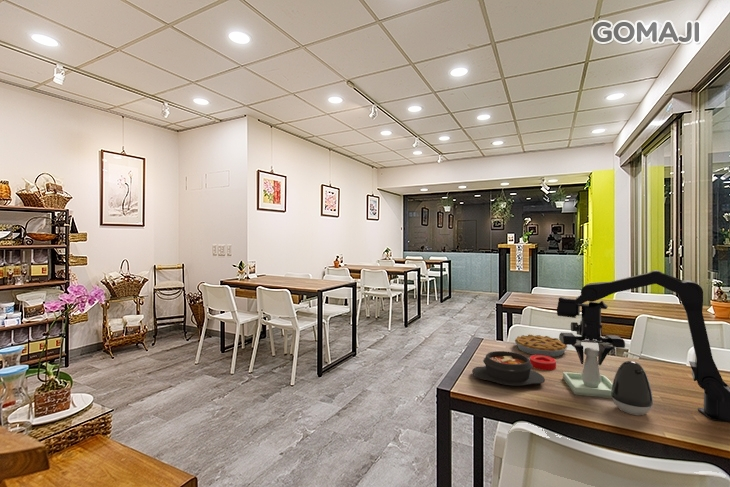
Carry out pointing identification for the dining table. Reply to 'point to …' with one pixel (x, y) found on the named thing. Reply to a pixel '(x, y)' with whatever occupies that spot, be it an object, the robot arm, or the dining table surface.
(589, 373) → the salt shaker
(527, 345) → the pie
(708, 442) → the dining table surface
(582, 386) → the tray
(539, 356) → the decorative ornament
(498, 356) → the casserole
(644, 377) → the dark grey egg shape
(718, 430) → the dining table surface
